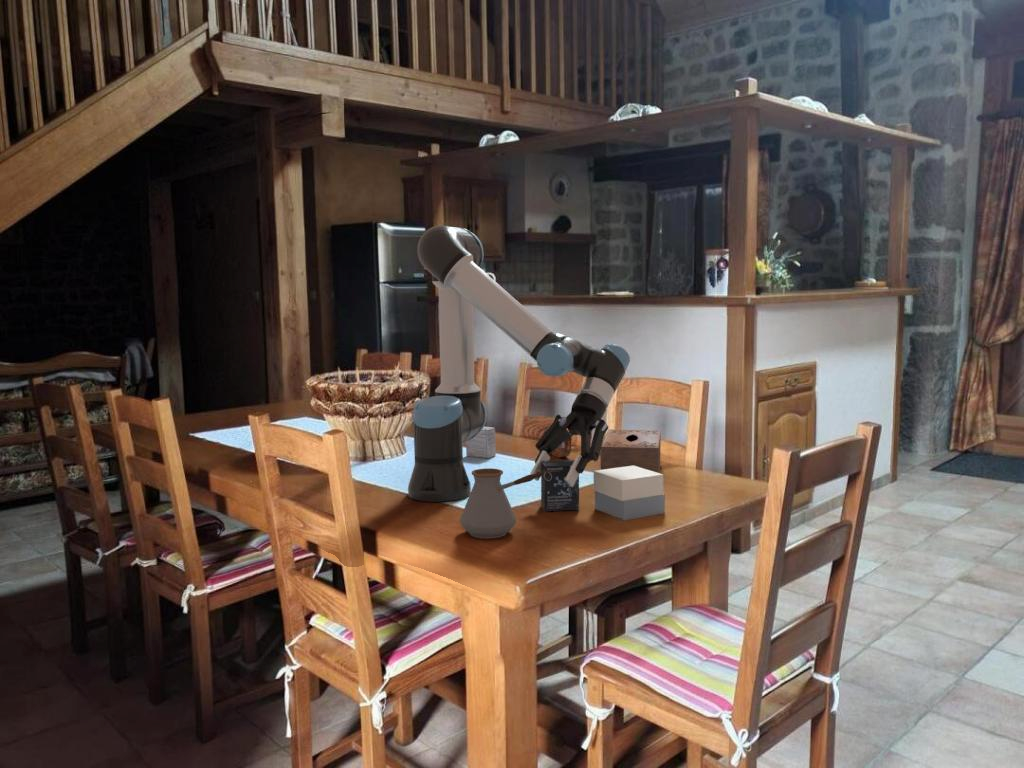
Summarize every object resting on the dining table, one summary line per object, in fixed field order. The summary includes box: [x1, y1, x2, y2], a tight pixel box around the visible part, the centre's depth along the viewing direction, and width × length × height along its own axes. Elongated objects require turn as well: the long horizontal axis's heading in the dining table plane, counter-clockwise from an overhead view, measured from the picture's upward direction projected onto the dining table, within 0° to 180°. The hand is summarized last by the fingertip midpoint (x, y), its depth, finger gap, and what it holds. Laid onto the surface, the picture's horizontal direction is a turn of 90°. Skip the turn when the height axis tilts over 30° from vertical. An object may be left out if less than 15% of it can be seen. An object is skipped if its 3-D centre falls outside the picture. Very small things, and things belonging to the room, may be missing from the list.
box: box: [540, 459, 580, 513], centre depth 189 cm, size 8×6×11 cm
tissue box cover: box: [600, 428, 662, 474], centre depth 223 cm, size 26×14×10 cm, turn 169°
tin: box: [543, 425, 572, 458], centre depth 249 cm, size 15×3×8 cm, turn 22°
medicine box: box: [465, 426, 497, 459], centre depth 249 cm, size 8×4×9 cm, turn 58°
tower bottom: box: [594, 491, 666, 521], centre depth 187 cm, size 11×11×4 cm
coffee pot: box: [459, 467, 552, 539], centre depth 167 cm, size 21×12×15 cm, turn 52°
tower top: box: [593, 465, 664, 501], centre depth 186 cm, size 11×11×4 cm
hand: (551, 480), depth 186 cm, fingers closed on box, 9 cm apart
